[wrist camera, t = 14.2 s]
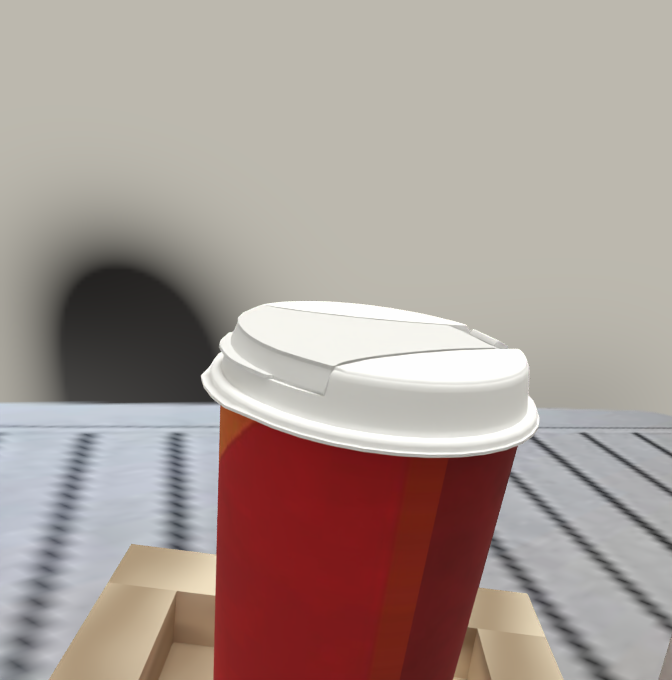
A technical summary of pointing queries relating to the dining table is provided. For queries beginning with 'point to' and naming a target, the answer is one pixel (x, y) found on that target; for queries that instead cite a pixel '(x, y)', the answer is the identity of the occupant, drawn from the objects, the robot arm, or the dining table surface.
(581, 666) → the dining table surface
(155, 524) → the dining table surface
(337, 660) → the paper cup
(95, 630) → the tray
